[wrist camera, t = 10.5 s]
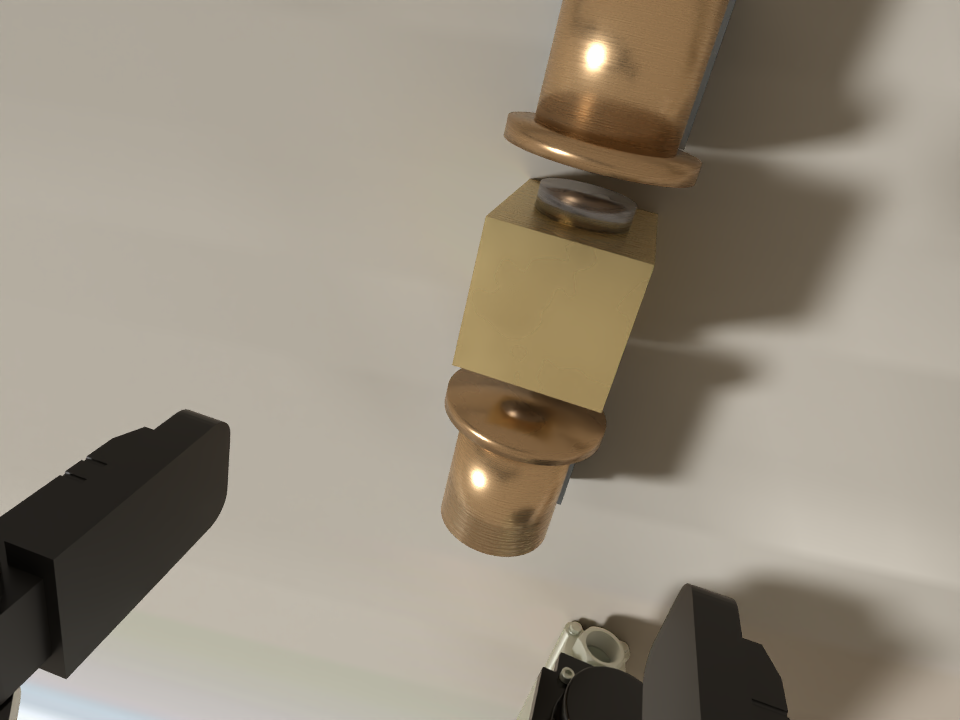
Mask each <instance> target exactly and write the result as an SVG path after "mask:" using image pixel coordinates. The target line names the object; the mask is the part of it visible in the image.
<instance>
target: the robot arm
mask: <svg viewBox="0 0 960 720" xmlns="http://www.w3.org/2000/svg"><path fill="white" fill-rule="evenodd" d="M229 449H230V428H229V426H228V424H227V423H225V422H222V421H219V420H217V419H214V418H211V417H208V416H205V415H202V414H199V413H196V412H193V411H190V410H186V409H185V410H181V411H179V412H178V413H176V414H175V415H173V416H172V417H171V418H169V419H168V420H167V421H165V422H164V423H162V424H161V425H160V426H158V427H157V428H156V429H154V430H153V429H150V428H147V427H143V428H140V429H138V430H135V431H132V432H129V433H126V434H124V435H121V436H118V437H115V438H112V439H111V440H109V441H108V442H107V443H105V444H104V445H102V446H101V447H99V448H98V449H97V450H95V451H94V452H92V453H91V454H89V455H88V456H87V458H86V460H85V461H83V460H81V461H79V462H78V463H77V464H75V465H74V466H72V467H71V468H69V469H68V470H67V471H65V474H64V475H63V476H61V475H59V476H58V477H57V478H55V479H54V480H52V481H51V482H49V483H48V484H47V485H45V486H44V487H42V488H41V489H39V490H38V491H37V492H35V493H34V494H32V495H31V496H29V497H28V498H27V499H25V500H24V501H22V502H21V503H19V504H18V505H17V506H15V507H14V508H12V509H11V510H9V511H8V512H7V513H5V514H4V515H2V516H1V517H0V720H17V716H18V710H19V704H20V699H21V689H20V686H21V685H22V684H23V683H24V682H25V681H26V680H27V679H28V678H29V677H30V676H31V675H32V674H33V673H34V672H35V671H36V670H37V669H38V668H40V669H43V670H45V671H48V672H50V673H52V674H55V675H57V676H60V677H62V678H65V679H67V678H68V677H69V676H70V675H71V674H72V673H73V672H74V670H75V669H76V668H77V667H78V666H79V665H80V664H81V663H82V662H83V661H84V660H85V659H86V658H87V657H88V656H89V655H90V654H91V653H92V652H93V650H94V649H95V648H96V647H97V646H98V645H99V644H100V643H101V642H102V641H103V640H104V639H105V638H106V637H107V636H108V635H109V634H110V633H111V632H112V630H113V629H114V628H115V627H116V626H117V625H118V624H119V623H120V622H121V621H122V620H123V619H124V618H125V617H126V616H127V615H128V614H129V613H130V611H131V610H132V609H133V608H134V607H135V606H136V605H137V604H138V603H139V602H140V601H141V600H142V599H143V598H144V597H145V596H146V595H147V594H148V593H149V591H150V590H151V589H152V588H153V587H154V586H155V585H156V584H157V583H158V582H159V581H160V580H161V579H162V578H163V577H164V576H165V575H166V574H167V573H168V571H169V570H170V569H171V568H172V567H173V566H174V565H175V564H176V563H177V562H178V561H179V560H180V559H181V558H182V557H183V556H184V555H185V554H186V552H187V551H188V550H189V549H190V548H191V547H192V546H193V545H194V544H195V543H196V542H197V541H198V540H199V539H200V538H201V537H202V536H203V535H204V534H205V532H206V531H207V530H208V529H209V528H210V527H211V526H212V525H213V523H214V522H215V521H216V519H217V518H218V516H219V514H220V512H221V510H222V508H223V505H224V503H225V499H226V495H227V485H228V467H229ZM787 713H788V709H787V704H786V699H785V694H784V689H783V684H782V680H781V677H780V675H779V673H778V672H777V670H776V668H775V667H774V665H773V663H772V661H771V660H770V658H769V656H768V655H767V653H766V651H765V649H764V648H763V646H762V645H761V644H758V643H755V642H752V641H750V640H747V639H744V638H742V632H741V626H740V619H739V613H738V607H737V604H736V602H735V600H734V599H732V598H729V597H726V596H723V595H720V594H717V593H714V592H711V591H708V590H706V589H703V588H700V587H697V586H694V585H691V584H685V585H684V586H683V587H682V589H681V590H680V592H679V594H678V596H677V598H676V600H675V602H674V604H673V606H672V608H671V610H670V612H669V614H668V615H667V617H666V619H665V621H664V623H663V625H662V627H661V629H660V631H659V633H658V635H657V637H656V639H655V641H654V643H653V645H652V647H651V650H650V653H649V656H648V659H647V663H646V667H645V672H644V679H643V703H642V720H790V719H789V718H787Z"/></svg>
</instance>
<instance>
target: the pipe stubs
mask: <svg viewBox="0 0 960 720" xmlns="http://www.w3.org/2000/svg"><path fill="white" fill-rule="evenodd" d="M735 2H736V0H563V2H562V6H561V10H560V14H559V18H558V22H557V27H556V31H555V35H554V39H553V43H552V47H551V52H550V56H549V60H548V64H547V68H546V72H545V77H544V81H543V85H542V89H541V93H540V97H539V102H538V106H537V110H536V113H532V112H511V113H509V114H508V118H507V123H506V127H505V132H504V137H505V138H506V139H507V140H508V141H509V142H511V143H512V144H514V145H516V146H518V147H520V148H522V149H524V150H526V151H528V152H531V153H533V154H536V155H538V156H541V157H544V158H546V159H549V160H552V161H555V162H558V163H561V164H564V165H568V166H571V167H574V168H578V169H581V170H585V171H588V172H592V173H596V174H600V175H604V176H608V177H612V178H617V179H621V180H626V181H631V182H636V183H642V184H648V185H654V186H662V187H674V188H686V187H692V186H694V185H695V183H696V180H697V177H698V174H699V172H700V169H701V166H702V162H701V161H700V160H699V159H698V158H696V157H694V156H692V155H690V154H688V153H686V152H684V151H681V150H679V149H683V150H684V149H685V146H686V143H687V140H688V137H689V134H690V131H691V128H692V126H693V123H694V120H695V117H696V114H697V111H698V108H699V105H700V103H701V100H702V97H703V94H704V91H705V88H706V85H707V82H708V80H709V77H710V74H711V71H712V68H713V65H714V62H715V59H716V57H717V54H718V51H719V48H720V45H721V42H722V39H723V36H724V34H725V31H726V28H727V25H728V22H729V19H730V16H731V13H732V11H733V8H734V5H735ZM678 148H679V149H678ZM445 409H446V413H447V415H448V417H449V419H450V420H451V422H452V423H453V425H454V426H455V427H456V428H457V429H458V430H459V434H458V439H457V443H456V447H455V451H454V455H453V459H452V464H451V468H450V472H449V476H448V480H447V484H446V489H445V493H444V497H443V501H442V506H441V514H442V518H443V521H444V523H445V525H446V527H447V528H448V529H449V531H450V532H451V533H452V534H453V535H454V536H455V537H456V538H457V539H458V540H459V541H461V542H462V543H464V544H465V545H467V546H469V547H470V548H472V549H474V550H477V551H479V552H482V553H485V554H489V555H494V556H501V557H512V556H519V555H524V554H526V553H529V552H531V551H533V550H535V549H536V548H537V547H538V546H539V545H540V544H541V543H542V542H543V540H544V538H545V535H546V532H547V529H548V526H549V524H550V521H551V518H552V515H553V512H554V509H555V506H556V503H557V504H560V505H561V502H562V499H563V496H564V494H565V491H566V488H567V485H568V482H569V479H570V476H571V473H572V471H573V468H574V465H575V463H577V462H580V461H583V460H585V459H587V458H589V457H590V456H592V455H593V454H594V453H595V452H596V451H597V449H598V448H599V446H600V444H601V441H602V438H603V435H604V433H605V429H606V418H605V415H604V412H603V410H602V413H599V412H596V411H593V410H590V409H587V408H584V407H581V406H578V405H575V404H572V403H568V402H565V401H562V400H559V399H556V398H553V397H550V396H547V395H544V394H541V393H538V392H535V391H531V390H528V389H525V388H522V387H519V386H516V385H513V384H510V383H507V382H504V381H501V380H497V379H494V378H491V377H488V376H485V375H482V374H479V373H476V372H473V371H470V370H467V369H463V368H462V369H460V370H458V371H457V372H456V373H455V374H454V375H453V376H452V377H451V379H450V381H449V384H448V388H447V393H446V397H445Z"/></svg>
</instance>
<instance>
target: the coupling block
mask: <svg viewBox="0 0 960 720" xmlns="http://www.w3.org/2000/svg"><path fill="white" fill-rule="evenodd" d="M657 219H658V214H655V213H651V212H648V211H644V210H641V209H637V204H636V203H635V202H634V201H632V200H631V199H629V198H627V197H625V196H623V195H621V194H619V193H616V192H614V191H611V190H608V189H605V188H602V187H599V186H596V185H592V184H588V183H584V182H580V181H575V180H569V179H562V178H544V179H542V180H541V182H540V181H537V180H533V179H529V180H528V181H527V182H526V183H524V184H523V185H522V186H521V187H520V188H519V189H517V190H516V191H515V192H514V193H513V194H512V195H510V196H509V197H508V198H507V199H506V200H505V201H503V202H502V203H501V204H500V205H499V206H497V207H496V208H495V209H494V210H493V211H492V212H490V213H489V214H488V215H487V216H486V218H485V223H484V227H483V232H482V236H481V240H480V245H479V249H478V254H477V258H476V262H475V267H474V271H473V276H472V280H471V285H470V289H469V293H468V298H467V302H466V307H465V311H464V315H463V320H462V324H461V329H460V333H459V338H458V342H457V346H456V351H455V355H454V360H453V364H452V365H454V366H457V367H460V368H463V369H467V370H470V371H473V372H476V373H479V374H482V375H485V376H488V377H491V378H494V379H497V380H501V381H504V382H507V383H510V384H513V385H516V386H519V387H522V388H525V389H528V390H531V391H535V392H538V393H541V394H544V395H547V396H550V397H553V398H556V399H559V400H562V401H565V402H568V403H572V404H575V405H578V406H581V407H584V408H587V409H590V410H593V411H596V412H599V413H602V410H603V408H604V405H605V402H606V399H607V396H608V394H609V391H610V388H611V385H612V383H613V380H614V377H615V374H616V371H617V369H618V366H619V363H620V360H621V358H622V355H623V352H624V349H625V346H626V344H627V341H628V338H629V335H630V333H631V330H632V327H633V324H634V322H635V319H636V316H637V313H638V310H639V308H640V305H641V302H642V299H643V297H644V294H645V291H646V288H647V285H648V283H649V280H650V277H651V274H652V272H653V269H654V266H655V253H656V236H657Z"/></svg>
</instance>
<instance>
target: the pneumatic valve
mask: <svg viewBox="0 0 960 720" xmlns="http://www.w3.org/2000/svg"><path fill="white" fill-rule="evenodd" d="M629 657H630V650H629V647H628V645H627V643H625V642H623V641H619V640H618V638H617V637H616V636H615V635H614V634H612V633H611V632H609V631H608V630H606V629H603V628H600V627H594V626H592V627H589V628H588V629H587V630H585V631H584V630H583V629H582V626H581V624H580V623H578V622H575V621H574V622H569V623H567V624H566V626H565V628H564V630H563V632H562V633H561V635H560V637H559V639H558V641H557V643H556V645H555V647H554V649H553V651H552V653H551V655H550V657H549V659H548V661H547V663H546V666H545V667H543V668H542V670H541V672H540V674H539V676H538V678H537V680H536V682H535V684H534V686H533V688H532V690H531V692H530V694H529V696H528V698H527V700H526V702H525V704H524V706H523V708H522V710H521V712H520V714H519V716H518V717H517V719H516V720H642V703H643V683H642V682H640V681H639V680H638V679H636V678H635V677H633V676H632V675H630V674H628V673H626V666H625V663H626V662H627V660H628V658H629Z"/></svg>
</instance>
